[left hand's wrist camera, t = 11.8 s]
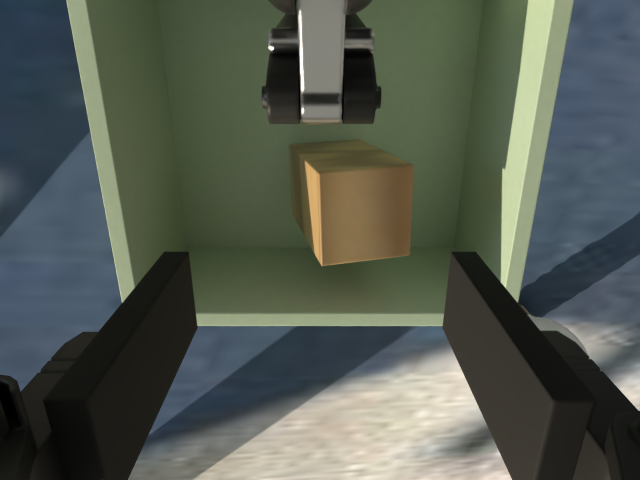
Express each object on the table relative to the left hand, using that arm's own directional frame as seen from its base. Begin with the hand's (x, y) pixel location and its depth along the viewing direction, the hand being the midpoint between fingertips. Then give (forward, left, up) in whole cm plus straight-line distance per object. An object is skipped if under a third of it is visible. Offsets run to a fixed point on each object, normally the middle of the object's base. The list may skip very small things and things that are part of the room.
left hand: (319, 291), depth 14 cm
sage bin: (0, +3, -16) cm, 17 cm away
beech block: (0, 0, -15) cm, 15 cm away
